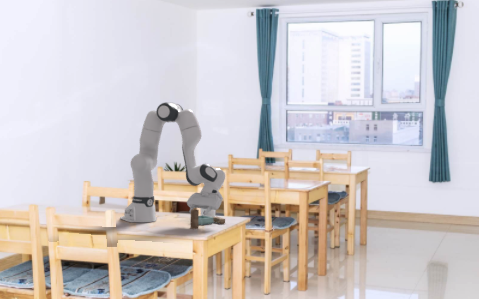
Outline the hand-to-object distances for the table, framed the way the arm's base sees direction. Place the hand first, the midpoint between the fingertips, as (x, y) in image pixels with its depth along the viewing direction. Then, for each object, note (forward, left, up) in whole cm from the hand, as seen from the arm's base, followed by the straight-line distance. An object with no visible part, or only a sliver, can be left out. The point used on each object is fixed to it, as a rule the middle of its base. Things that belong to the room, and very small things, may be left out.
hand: (197, 213), depth 326 cm
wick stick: (0, -2, -8) cm, 8 cm away
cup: (-9, +12, -8) cm, 16 cm away
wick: (-5, +21, -8) cm, 23 cm away
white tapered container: (-18, +25, -8) cm, 31 cm away
